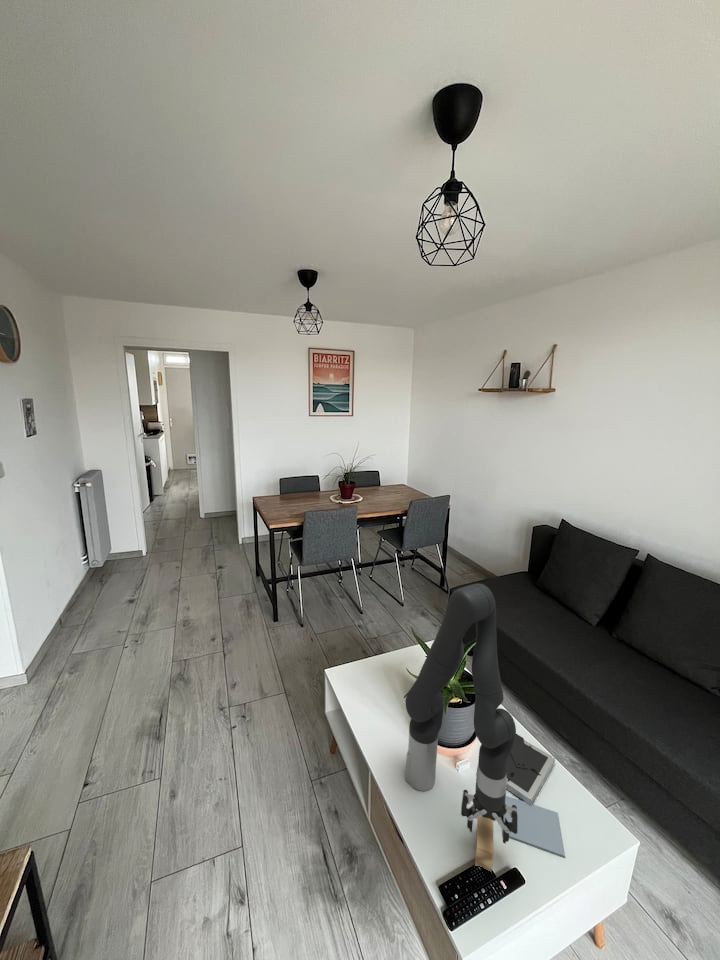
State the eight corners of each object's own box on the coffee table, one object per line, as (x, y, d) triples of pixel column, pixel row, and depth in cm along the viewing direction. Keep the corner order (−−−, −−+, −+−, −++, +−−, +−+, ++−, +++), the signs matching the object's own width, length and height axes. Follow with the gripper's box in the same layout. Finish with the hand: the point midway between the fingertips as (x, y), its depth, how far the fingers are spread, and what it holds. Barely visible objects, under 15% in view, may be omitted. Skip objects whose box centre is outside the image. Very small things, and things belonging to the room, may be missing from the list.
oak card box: (475, 868, 98) (477, 847, 97) (476, 829, 108) (478, 809, 106) (491, 875, 97) (493, 853, 96) (491, 835, 106) (493, 814, 105)
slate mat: (502, 835, 106) (502, 833, 106) (501, 795, 117) (501, 794, 117) (564, 857, 101) (565, 856, 101) (557, 814, 112) (557, 812, 112)
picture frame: (509, 736, 139) (483, 772, 125) (510, 729, 139) (483, 765, 125) (554, 763, 128) (531, 805, 114) (555, 755, 128) (531, 797, 113)
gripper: (462, 787, 97) (459, 839, 100) (521, 805, 93) (516, 859, 95) (464, 762, 104) (461, 811, 107) (519, 778, 100) (514, 829, 102)
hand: (487, 834), depth 101 cm, fingers open, 8 cm apart
